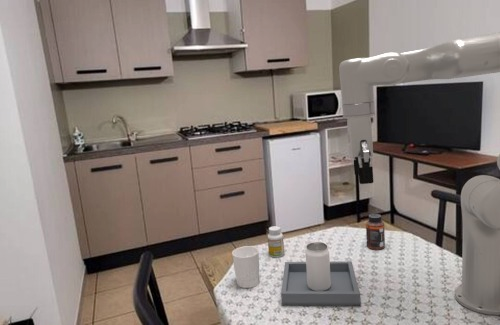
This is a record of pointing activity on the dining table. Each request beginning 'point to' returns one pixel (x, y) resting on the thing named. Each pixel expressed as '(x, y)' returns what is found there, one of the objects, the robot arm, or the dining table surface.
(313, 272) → the can
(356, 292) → the tray
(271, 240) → the supplement bottle
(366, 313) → the dining table surface
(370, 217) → the supplement bottle
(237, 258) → the white cup
